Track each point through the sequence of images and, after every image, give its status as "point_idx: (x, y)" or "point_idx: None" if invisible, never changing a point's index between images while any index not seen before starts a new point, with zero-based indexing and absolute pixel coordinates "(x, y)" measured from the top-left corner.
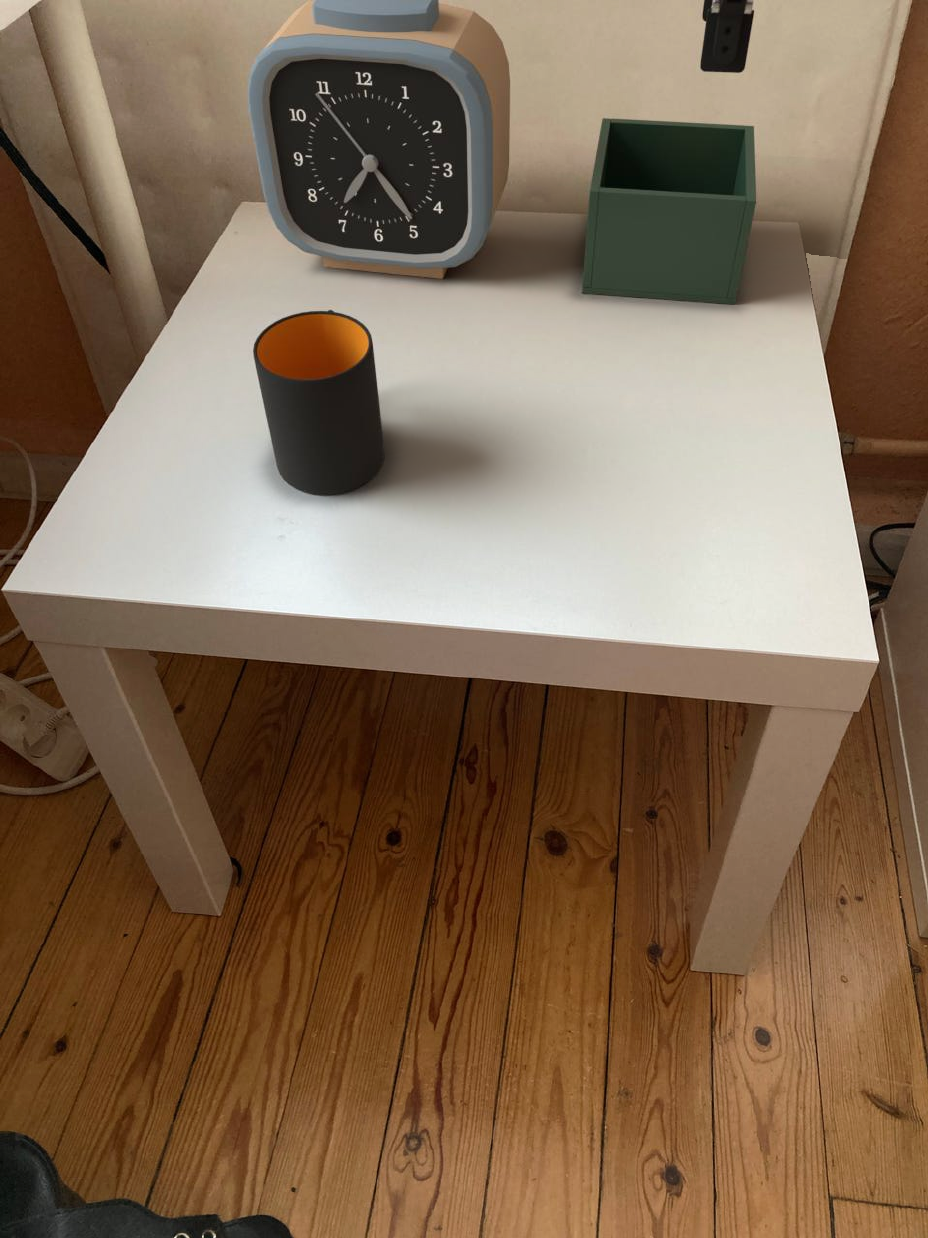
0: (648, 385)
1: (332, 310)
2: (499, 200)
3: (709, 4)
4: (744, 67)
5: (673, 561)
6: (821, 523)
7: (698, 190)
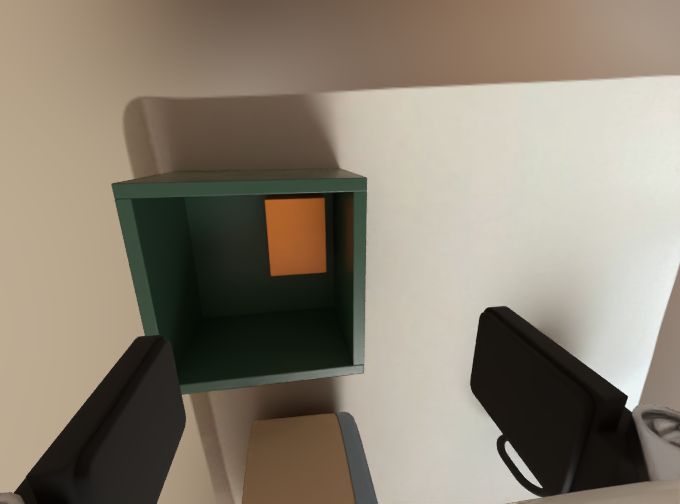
0: (466, 238)
1: (538, 494)
2: (295, 428)
3: (172, 448)
4: (507, 307)
5: (641, 204)
6: (624, 96)
7: (176, 231)
